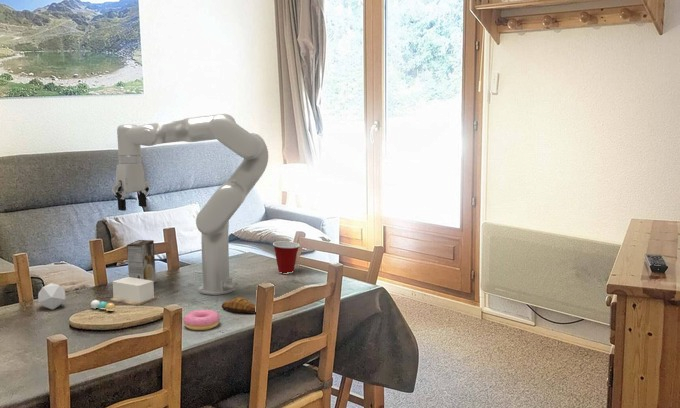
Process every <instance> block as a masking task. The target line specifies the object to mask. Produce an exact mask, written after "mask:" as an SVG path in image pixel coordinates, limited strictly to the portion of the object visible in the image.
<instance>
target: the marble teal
mask: <svg viewBox="0 0 680 408" xmlns="http://www.w3.org/2000/svg"><path fill="white" fill-rule="evenodd" d="M99 302H100V303H99V304H98V309H99V308H105V307H106V305H107V304H108V303H107V302H106V301H103V300H102V301H99Z"/></svg>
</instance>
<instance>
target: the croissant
mask: <svg viewBox="0 0 680 408" xmlns="http://www.w3.org/2000/svg"><path fill="white" fill-rule="evenodd" d="M221 308H222V309H223V310H225V311H229V312H230V311H231V312H234V313H239V314H241V313H242V314H243V313H244V314H256V313H255V304H254V303H253V302H251V301H249V299H248V298H245V297H242V296H238V297H234V298H233V299H229V300H226V301H224V302H223V303H222V304H221Z"/></svg>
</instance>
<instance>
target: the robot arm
mask: <svg viewBox="0 0 680 408" xmlns="http://www.w3.org/2000/svg"><path fill="white" fill-rule="evenodd" d="M116 135H117V137H116V138H117V150H118V153H117V154H118V164H116V169H115V170H116V171H115V184H114V185H112V187H111V191H112V193H113V196H114V197H115V199H116V200H117V210H118V211H122V212H126V211H127V203H126V199H125V197H126V196H127V194H130V193H131V194H132V193H138V195H137V196H138V198H137V200H138V206H139V207H144V208H146V207H147V196H148V193H149V191H150V186H151V182H150V181H148V180H146V179H145V178H146V177H145V176H146V175H145V171H144V166H143V163H142V159H143V156H142V151H141V147H142V146H144V147H151V146H156V145H161V144H169V143H177V142H178V143H180V142H184V143H185V142H186V143H197V142H205V141H214V140H217V141H218V142H219V143H220V144H222V145H224V147H226V148H228V149H229V150H230V151H231V152H233V153H235V154H236V155H237V156H239V157H240V158H241V159H242V161H241V163H240V164H239V165H238V167H237V168H236V169H235V171H234V172H233V173H232V175H230V177H229V178H228V180H226V181H225V182H224V183H223V184H221V185H220V186H218V188H217V189H216V190H215V192H214V193H213V194H212V196H211V197H210V198H209V200H207V202H206V204H204V206H203V207H202V208H201V209H200V211H199V212H198V213H197V215H196V218H195V225H196V228H197V230H198V231H199V232H200V233H201V234H200V235H201V238H200V239H201V242H200V244H201V267H202V268H201V269H202V270H201V271H202V285H201V286H199V287H198V293H200V294H203V295H208V296H219V295H225V294H226V295H227V294H229V293H232V292H233V291H235V290H236V289H237V286H238V283H237V282H234V281H233V278H232V277H230V256H229V253H230V252H229V249H230V248H229V243H230V242H229V227H230V225H229V222H230V219H232V217H233V215H234V214H235V213H236V212H237V210H238V209H239V208H240V206H241V205H243V203H244V201H245V200H246V198H247V196H248V195H249V194H250V192H251V191H252V190H253V188H255V186H256V184H257V183H258V181H259V180H260V179H261V178H262V177H263V174H264V173H265V171H266V169H267V166H268V162H269V151H268V150H269V149H268V146H267V145H266V142H265V140H264V138H263V136H261V135H260V134H257V133H254V132H249V131H248V130H246V129H245V128H243V126H241V125H239V124H238V123H237V122H236V120H235V118H234V117H233V116H232V115H231V114H228V113H219V114H211V115H203V116H195V117H186V118H183V119H179V120H173V121H164V122H155V123H154V122H153V123H148V124H146V123H145V124H141V125H137V124H120V125H118V126H117V129H116Z"/></svg>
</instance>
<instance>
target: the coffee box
mask: <svg viewBox="0 0 680 408" xmlns="http://www.w3.org/2000/svg"><path fill="white" fill-rule="evenodd" d="M154 244H155V240H151V239H144V240H143V239H138V240H136V241H134V242H130V243H129V244H126V252H127V253H126V254H127V268H128V277H132V278H138V279H145V280H151V281H153V283H155V282H157V278H156V260H155V259H156V258H155V245H154Z"/></svg>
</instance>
